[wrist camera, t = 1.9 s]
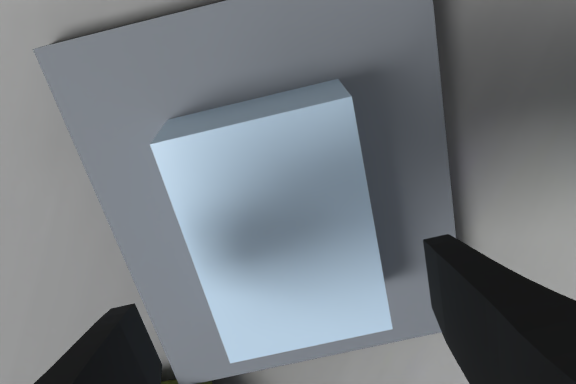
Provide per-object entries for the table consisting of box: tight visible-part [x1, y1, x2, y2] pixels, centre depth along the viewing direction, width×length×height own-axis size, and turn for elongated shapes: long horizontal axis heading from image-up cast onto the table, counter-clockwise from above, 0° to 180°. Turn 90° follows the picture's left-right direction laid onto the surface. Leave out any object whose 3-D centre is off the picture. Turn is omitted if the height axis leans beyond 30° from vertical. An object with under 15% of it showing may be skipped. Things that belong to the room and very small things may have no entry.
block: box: [150, 79, 393, 363], centre depth 16 cm, size 8×6×3 cm
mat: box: [33, 0, 456, 384], centre depth 17 cm, size 14×12×1 cm
